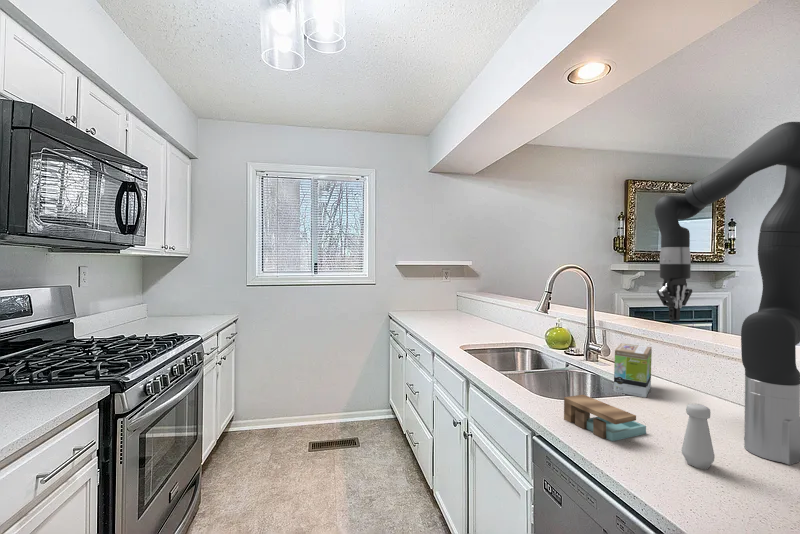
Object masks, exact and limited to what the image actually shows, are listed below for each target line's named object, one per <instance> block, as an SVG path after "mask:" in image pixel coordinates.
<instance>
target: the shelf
mask: <svg viewBox="0 0 800 534" xmlns="http://www.w3.org/2000/svg"><path fill="white" fill-rule="evenodd" d="M591 415H594V417H600V418H602V419H604V420H606V421H609V422H611V423H613V424H621V423H626V422H630V421H635V422H636V421H637V415H636V414H633V413H630V412H629V411H626V410H624V409H620V408H618V407H616V406H614V405H610V404H608V403H605V402H603V401H601V400H597V399H596V398H593V397H590V396H588V395H585V394H579V395H578V394H577V395H576V394H575V395H571V396H564V397H563V420H565V421H566V422H569V423H570V424H572V423H574V426H577V427H578V428H580V429H583V430H588V429H587V419H588V418H591ZM592 433H593V435H595V436H597V437H598V438H601V439H602V440H604V439H606V422H604V421H602V420H600V419H597V418H594V419H593V432H592Z"/></svg>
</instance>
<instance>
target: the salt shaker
mask: <svg viewBox="0 0 800 534" xmlns="http://www.w3.org/2000/svg"><path fill="white" fill-rule="evenodd" d="M685 412H686V414H687V415H688V419H687V424H686V429H685V433H684V437H683V441H682V445H681V455H683V457H684V460H685V461H686V463H687V464H688V465H689V466H691V465H692V466H691V467H693V466H694V467H693V468H696V469H699V468H702V470H708V469H709V468H710V467H711V465H712V464H713V463H714V462H715V451H714V446H713V442H712V436H711V432H710V426H709V422H708V420H709V419H710V418H711V414H712V413H711V409H710V408H709V407H708V406H707V405H703V404H700V403H688V404H687V405H686V408H685Z"/></svg>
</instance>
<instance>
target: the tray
mask: <svg viewBox="0 0 800 534" xmlns="http://www.w3.org/2000/svg"><path fill="white" fill-rule="evenodd" d="M594 418H597V419H600V420H602V421H604V422H606V438H605V439H607V440H609V441H610V442H616V441H620V440H623V439H624V440H625V439H627V438H628V439H629V438H633V437H637V436H642V435H646V434H647V426H646V425H644V424H642V423H639V422H637V421H636V420H635V421H630V422H626V423H621V424H613V423H611V422H609V421H606V420H604V419H602V418H600V417H597V416H594V417H590V418H588V419H587V429H586V430H589V431H591V432H592V433H593V419H594Z"/></svg>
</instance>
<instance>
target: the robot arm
mask: <svg viewBox="0 0 800 534" xmlns="http://www.w3.org/2000/svg"><path fill="white" fill-rule="evenodd" d="M776 165H777V166H785V168H786V169H785V178H784V183H783V184H784V185H783V189H782V192H781V193H780V195H779V196H778V199H776V202H775V203H774V204H773V205H772V206H771V208H770V209H769V210H768V212H767V213H766V215H765V216H764V218H763V220H762V223H761V225H760V230H759V237H758V242H757V261H758V266H759V271H760V275H761V281H762V292H761V298H760V303H759V305H758V310H757V311H756V312H753V313H751V314H749V315H748V316H746V317H745V319H744V320H743V322H742V324H741V325H742V326H741V329H740V331H741V332H740V344H741V345H740V347H741V352H740V353H741V362H742V365H743V368H744V424H743V425H744V429H743V430H744V435H743V440H744V441H743V442H744V443H743V445H744V448H745V450H746V451H747V452H749V453H751V454H753V455H755V456H757V457H760V458H763V459H766V460H770V461H773V462H778V463H782V464H785V465H788V466H789V465H794V464H797V463H800V370H799V369H798V368H797V363H796V359H797V358H796V357H797V355H796V347H797V345H799V344H800V121H788V122H784V123H781V124H778V125H777V126H775V127H773V128H771V129H770V130H769V131H767V132H766V133H764V135H762V136H760V137H759V138H758V139H757V140H756V141H754V142H753V143H752V144H751V145H750V146H748V147H747V148H745V149H744V150H743V151H742V152H740V153H739V154H737V156H735V157H734V158H732V159H731V160H730V161H728V162H727V163H726V164H724V165H723V166H721V167H720V168H718V169H717V170H715V171H713V172H711V173H710V174H708V175H706V176H704V177H703V178H701V179H700V180H698V181H696V182H694V183H693V184H691V185H689V186H688V187H687V188H686V189H685V195H664V196H662V197H660V198H659V199H658V200H657V202H656V204H655V208H654V215H655V219H656V223H657V225H658V226H657V227H658V230H659V232H660V253H659V278H660V279H663V280H662V281H663V282H662V287H661V288H660V289H656V294H657V296H658V297H659V301H660V302H661V303H662V305H663V306H664V307H667V308H668V319H669V321H671V322H672V321H673V322H679V321H680V319H681V309H682V307H685V306H686V305H687V304H688V301H689V299H690V298H691V296H692V293H693V289H692V288H689V287H687V286H688V282H687V280H689V279H690V278H691V273H692V272H691V271H692V270H691V267H692V265H691V261H692V260H691V257H692V256H691V248H690V244H691V243H690V242H691V240H690V237H691V234H690V230H689V229H688V228H686V227H684V226H681V225H680V223H679V221H680V220H681V221H683V220H687V219H690V218H692V217H694V216H697V214H699V213H700V212H701V211H703V210H704V209H705V208H706V207H707V206H709V205H711V204H713V203H715V202H717V201H720V200H721V199H723V198H726V197H727V196H729V195H731V194H732V193H733V192H734V191H736V189H737V188H739V186H741V184H742V183H743V182H744V181H745V180H746V179H747V178H749V177H750V176H751V175H753V174H756V173H758V172H761V171H762V170H765V169H768V168H770V167H774V166H776Z"/></svg>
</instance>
